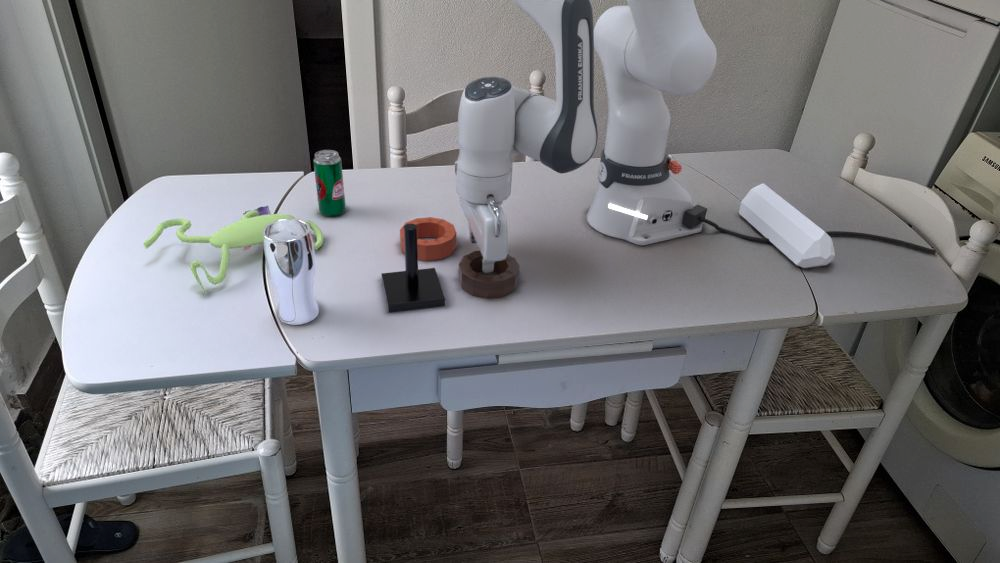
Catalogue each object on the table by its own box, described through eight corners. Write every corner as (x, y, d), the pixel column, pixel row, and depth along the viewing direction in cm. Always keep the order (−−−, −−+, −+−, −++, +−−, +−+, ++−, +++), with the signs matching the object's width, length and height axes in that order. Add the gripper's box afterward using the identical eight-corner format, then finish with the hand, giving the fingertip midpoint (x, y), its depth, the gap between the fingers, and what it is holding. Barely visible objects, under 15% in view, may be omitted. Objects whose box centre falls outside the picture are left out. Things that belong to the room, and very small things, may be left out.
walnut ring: (508, 262, 121) (509, 247, 119) (524, 294, 113) (525, 278, 111) (454, 268, 119) (454, 252, 117) (466, 301, 111) (466, 284, 109)
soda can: (340, 219, 131) (334, 161, 124) (315, 216, 132) (307, 158, 125) (350, 207, 135) (344, 150, 128) (325, 204, 136) (319, 147, 129)
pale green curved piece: (141, 254, 118) (132, 226, 115) (282, 208, 133) (278, 182, 130) (185, 303, 107) (177, 273, 104) (334, 246, 123) (331, 219, 120)
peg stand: (435, 275, 117) (434, 210, 110) (445, 305, 110) (444, 238, 102) (381, 280, 115) (377, 215, 108) (388, 312, 107) (384, 244, 100)
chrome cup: (280, 300, 109) (266, 217, 100) (324, 299, 109) (314, 217, 101) (271, 327, 103) (256, 242, 95) (318, 326, 104) (307, 242, 95)
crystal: (854, 251, 122) (776, 190, 141) (830, 237, 118) (754, 176, 137) (825, 283, 124) (753, 219, 143) (801, 270, 121) (730, 206, 140)
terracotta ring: (449, 230, 129) (449, 215, 128) (460, 257, 122) (460, 242, 120) (397, 235, 127) (396, 219, 125) (405, 263, 119) (404, 247, 117)
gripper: (520, 211, 102) (514, 287, 110) (488, 155, 119) (485, 225, 126) (479, 214, 101) (476, 291, 109) (452, 157, 117) (451, 228, 125)
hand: (480, 255), depth 118 cm, fingers open, 8 cm apart
